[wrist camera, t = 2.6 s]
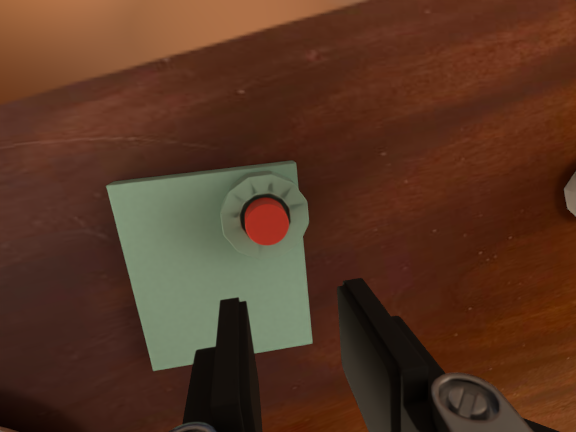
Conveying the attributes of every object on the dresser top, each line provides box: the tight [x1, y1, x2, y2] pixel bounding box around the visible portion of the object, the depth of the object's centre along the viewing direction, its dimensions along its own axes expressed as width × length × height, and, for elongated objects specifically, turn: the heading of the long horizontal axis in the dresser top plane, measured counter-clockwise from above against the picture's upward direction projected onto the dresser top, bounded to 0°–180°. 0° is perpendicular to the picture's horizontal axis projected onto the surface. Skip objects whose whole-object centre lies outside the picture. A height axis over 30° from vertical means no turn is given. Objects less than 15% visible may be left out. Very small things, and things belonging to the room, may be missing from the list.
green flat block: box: [106, 160, 312, 371], centre depth 24 cm, size 14×12×3 cm
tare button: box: [245, 197, 289, 245], centre depth 21 cm, size 3×3×2 cm
